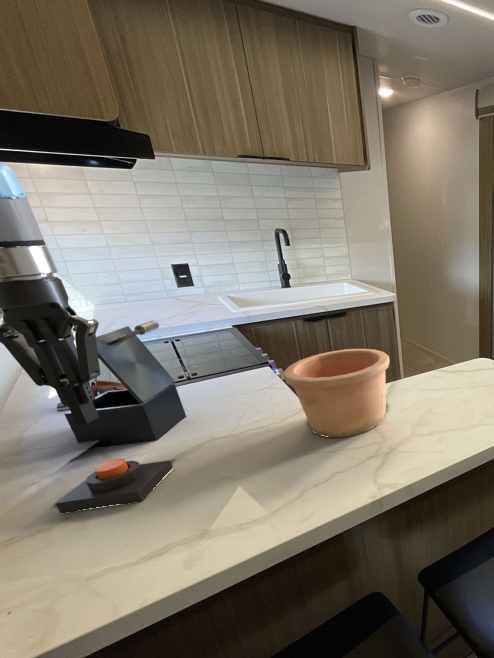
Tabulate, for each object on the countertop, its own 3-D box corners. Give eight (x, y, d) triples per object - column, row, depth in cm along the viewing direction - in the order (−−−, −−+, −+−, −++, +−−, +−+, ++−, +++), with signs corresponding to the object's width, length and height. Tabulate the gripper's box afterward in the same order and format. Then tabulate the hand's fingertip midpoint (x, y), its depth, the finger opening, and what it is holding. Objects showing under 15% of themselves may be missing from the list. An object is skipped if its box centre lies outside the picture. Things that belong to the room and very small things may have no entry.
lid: (83, 341, 80) (124, 322, 80) (125, 327, 92) (160, 311, 92) (140, 403, 86) (178, 386, 86) (172, 383, 98) (206, 367, 98)
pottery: (363, 394, 108) (354, 343, 103) (416, 415, 95) (408, 357, 90) (282, 426, 93) (266, 368, 88) (330, 455, 80) (315, 389, 74)
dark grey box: (81, 450, 87) (63, 414, 84) (120, 424, 99) (106, 391, 95) (157, 440, 89) (142, 405, 86) (186, 416, 101) (174, 384, 98)
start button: (92, 481, 69) (88, 473, 68) (109, 468, 72) (105, 460, 72) (119, 478, 69) (115, 469, 69) (134, 465, 73) (130, 457, 72)
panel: (60, 514, 66) (49, 494, 65) (103, 479, 76) (94, 461, 74) (142, 502, 68) (133, 482, 67) (174, 469, 78) (167, 451, 76)
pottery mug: (83, 409, 110) (90, 379, 111) (129, 413, 116) (136, 385, 118) (81, 410, 101) (89, 378, 103) (131, 414, 108) (138, 384, 109)
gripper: (-59, 284, 55) (22, 436, 63) (53, 278, 57) (117, 426, 65) (-6, 278, 61) (61, 416, 70) (92, 272, 64) (145, 406, 72)
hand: (88, 420), depth 67 cm, fingers closed
